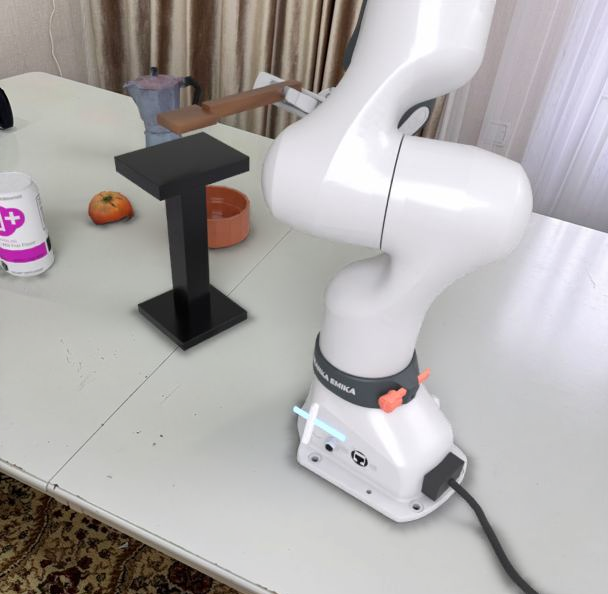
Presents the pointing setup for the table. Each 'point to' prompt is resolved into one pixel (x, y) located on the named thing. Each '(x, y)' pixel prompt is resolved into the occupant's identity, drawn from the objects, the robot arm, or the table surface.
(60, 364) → the table surface
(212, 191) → the bowl
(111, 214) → the tomato
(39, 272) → the supplement can
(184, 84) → the moka pot
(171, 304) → the black plant stand
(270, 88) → the wooden spatula
